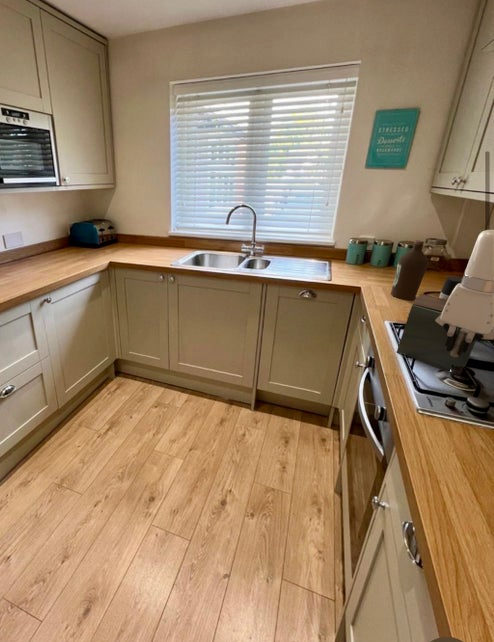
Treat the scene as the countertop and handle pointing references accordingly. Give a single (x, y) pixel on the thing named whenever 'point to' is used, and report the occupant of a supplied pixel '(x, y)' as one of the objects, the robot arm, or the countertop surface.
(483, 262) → the robot arm
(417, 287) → the olive oil
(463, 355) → the door
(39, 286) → the countertop surface
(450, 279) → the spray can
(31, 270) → the countertop surface
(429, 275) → the countertop surface
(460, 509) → the countertop surface
